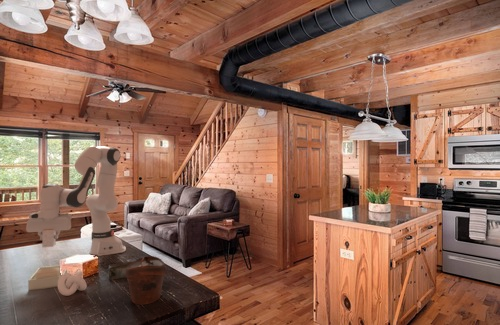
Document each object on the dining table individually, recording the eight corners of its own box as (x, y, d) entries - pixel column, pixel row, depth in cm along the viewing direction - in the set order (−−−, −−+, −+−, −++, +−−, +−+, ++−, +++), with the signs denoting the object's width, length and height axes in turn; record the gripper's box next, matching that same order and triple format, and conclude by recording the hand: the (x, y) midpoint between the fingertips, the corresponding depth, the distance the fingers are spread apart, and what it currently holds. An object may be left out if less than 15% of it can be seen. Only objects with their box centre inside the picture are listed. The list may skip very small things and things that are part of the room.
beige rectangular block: (59, 279, 153) (59, 267, 152) (57, 284, 147) (57, 271, 147) (39, 282, 149) (39, 269, 149) (35, 287, 144) (35, 273, 144)
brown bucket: (151, 284, 149) (151, 249, 149) (175, 297, 137) (175, 259, 136) (116, 298, 135) (116, 259, 135) (139, 313, 123) (139, 270, 122)
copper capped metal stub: (55, 244, 163) (55, 227, 163) (53, 246, 159) (53, 229, 159) (45, 244, 162) (45, 227, 161) (42, 247, 157) (42, 229, 157)
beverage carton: (108, 275, 162) (108, 263, 162) (145, 269, 170) (145, 258, 170) (108, 280, 155) (108, 268, 155) (146, 274, 163) (147, 262, 163)
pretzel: (61, 288, 145) (61, 270, 144) (89, 284, 149) (89, 267, 149) (55, 298, 134) (55, 278, 134) (85, 294, 138) (85, 275, 138)
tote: (69, 273, 163) (69, 264, 163) (62, 286, 147) (62, 276, 146) (39, 276, 158) (39, 267, 158) (28, 290, 141) (28, 280, 141)
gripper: (72, 211, 167) (72, 236, 167) (29, 213, 159) (28, 239, 159) (70, 213, 161) (70, 239, 161) (25, 215, 153) (24, 242, 153)
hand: (49, 239), depth 160 cm, fingers closed on copper capped metal stub, 5 cm apart
